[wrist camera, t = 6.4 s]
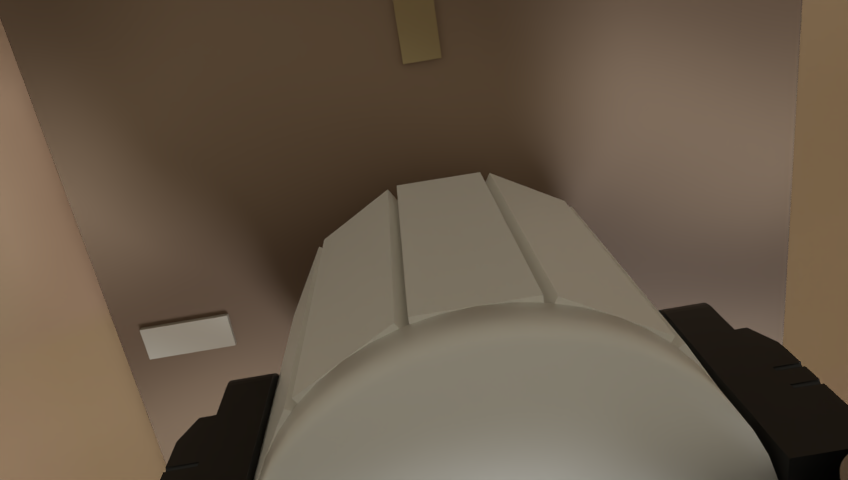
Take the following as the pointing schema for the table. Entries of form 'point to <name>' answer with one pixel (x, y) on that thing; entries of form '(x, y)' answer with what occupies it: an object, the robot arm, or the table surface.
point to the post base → (399, 149)
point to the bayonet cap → (490, 354)
